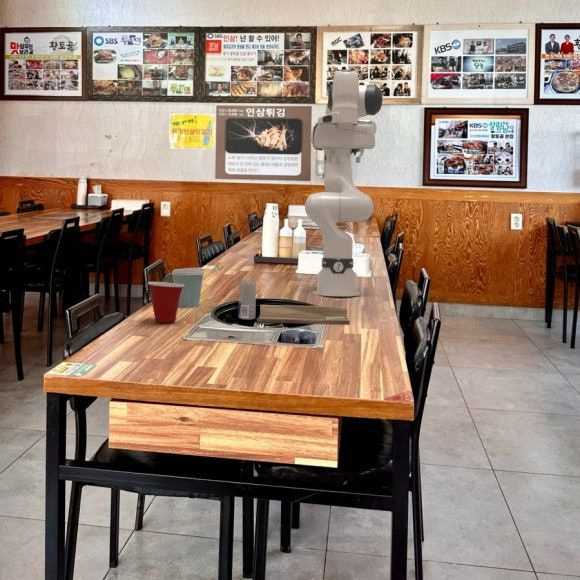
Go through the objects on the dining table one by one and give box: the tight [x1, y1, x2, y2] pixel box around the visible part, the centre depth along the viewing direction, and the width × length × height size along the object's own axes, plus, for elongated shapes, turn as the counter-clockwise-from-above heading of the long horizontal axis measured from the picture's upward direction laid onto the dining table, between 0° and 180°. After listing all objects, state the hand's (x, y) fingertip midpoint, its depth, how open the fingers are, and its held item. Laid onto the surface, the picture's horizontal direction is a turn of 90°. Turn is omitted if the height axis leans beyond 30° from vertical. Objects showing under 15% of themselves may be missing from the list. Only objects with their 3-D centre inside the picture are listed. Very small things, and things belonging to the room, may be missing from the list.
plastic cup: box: [147, 281, 184, 324], centre depth 197 cm, size 11×11×12 cm
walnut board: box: [257, 304, 351, 325], centre depth 207 cm, size 12×28×4 cm, turn 89°
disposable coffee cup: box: [171, 267, 205, 309], centre depth 220 cm, size 11×11×15 cm
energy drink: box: [237, 280, 257, 320], centre depth 207 cm, size 5×5×12 cm
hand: (343, 162), depth 216 cm, fingers open, 8 cm apart
